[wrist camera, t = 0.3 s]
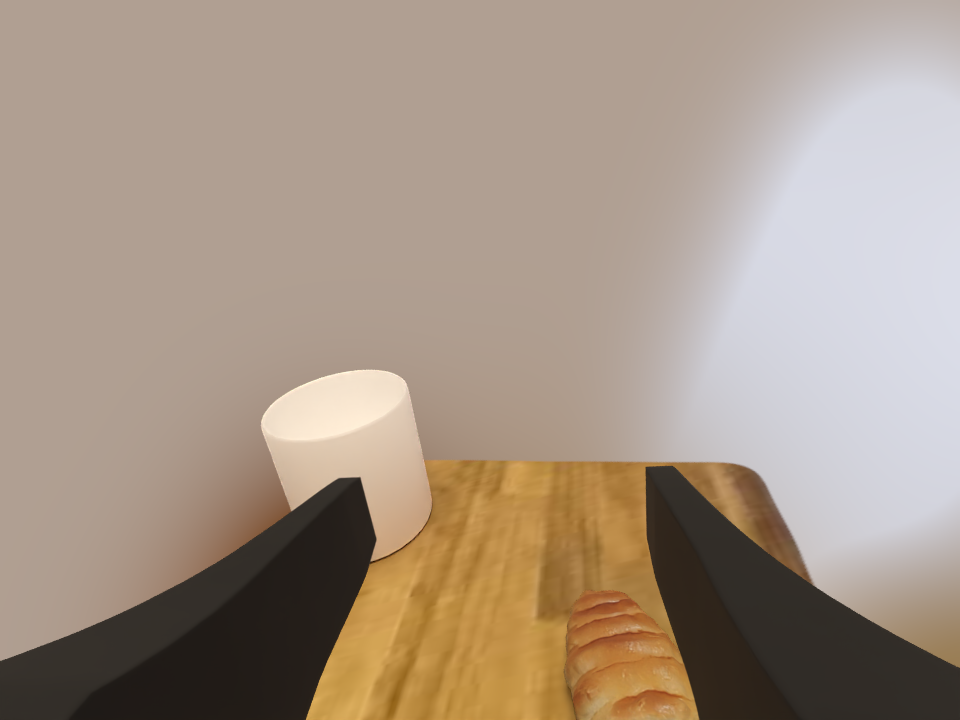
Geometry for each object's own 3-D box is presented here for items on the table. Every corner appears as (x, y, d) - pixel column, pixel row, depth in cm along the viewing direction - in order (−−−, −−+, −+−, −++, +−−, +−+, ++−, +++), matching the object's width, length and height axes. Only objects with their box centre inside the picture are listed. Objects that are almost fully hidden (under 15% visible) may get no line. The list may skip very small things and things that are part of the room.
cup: (400, 460, 51) (375, 358, 46) (456, 518, 41) (432, 397, 37) (289, 512, 45) (248, 402, 40) (324, 592, 36) (277, 461, 31)
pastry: (547, 616, 32) (542, 574, 30) (646, 599, 32) (646, 556, 30) (589, 787, 23) (586, 740, 21) (725, 762, 23) (731, 714, 22)
